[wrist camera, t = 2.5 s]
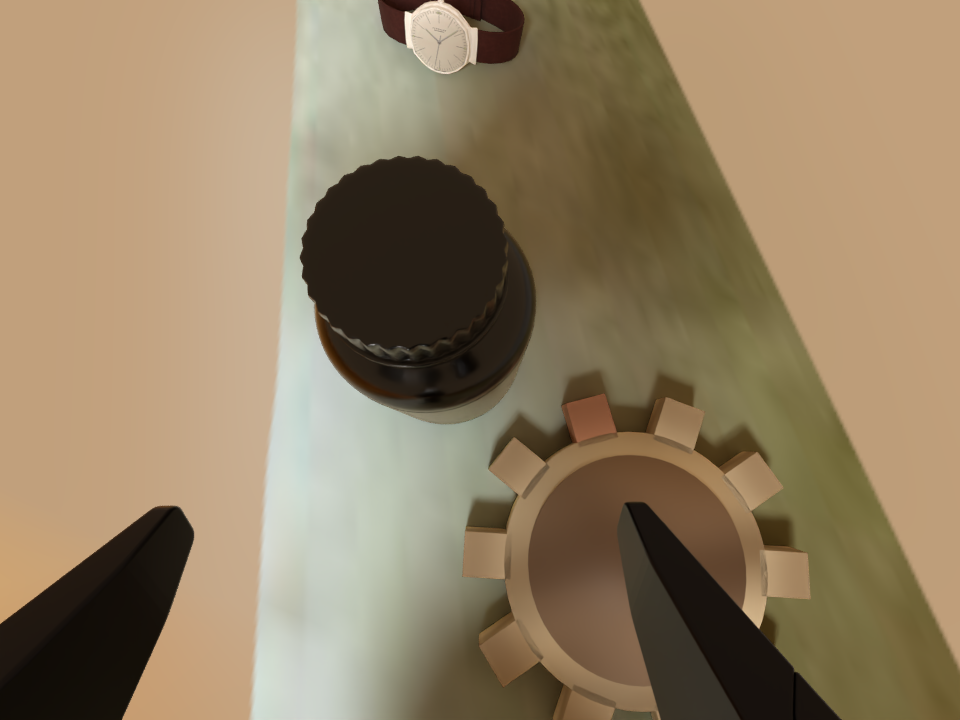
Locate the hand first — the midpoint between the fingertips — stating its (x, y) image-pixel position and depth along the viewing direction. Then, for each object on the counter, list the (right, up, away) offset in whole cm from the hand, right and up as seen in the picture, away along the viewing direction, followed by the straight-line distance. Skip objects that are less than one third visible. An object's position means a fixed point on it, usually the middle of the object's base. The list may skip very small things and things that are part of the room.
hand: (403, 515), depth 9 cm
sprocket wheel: (+8, -6, +11) cm, 15 cm away
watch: (0, +21, +16) cm, 26 cm away
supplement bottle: (0, +3, +13) cm, 13 cm away
